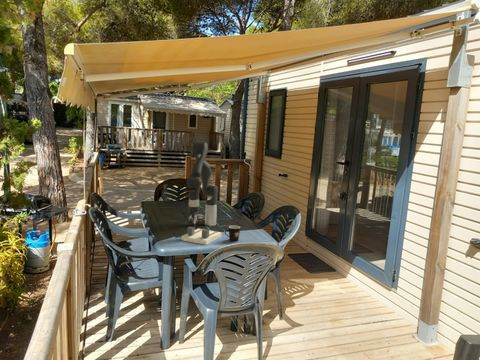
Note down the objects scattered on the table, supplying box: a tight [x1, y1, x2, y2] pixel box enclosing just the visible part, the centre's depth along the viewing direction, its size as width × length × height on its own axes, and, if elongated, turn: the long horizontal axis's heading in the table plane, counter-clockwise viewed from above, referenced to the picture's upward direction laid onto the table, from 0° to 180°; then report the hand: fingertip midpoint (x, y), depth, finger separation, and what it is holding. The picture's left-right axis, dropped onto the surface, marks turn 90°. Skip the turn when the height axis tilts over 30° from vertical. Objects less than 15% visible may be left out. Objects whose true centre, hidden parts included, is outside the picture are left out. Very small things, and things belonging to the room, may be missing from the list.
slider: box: [202, 228, 210, 238], centre depth 270 cm, size 4×4×5 cm
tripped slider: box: [186, 226, 196, 235], centre depth 274 cm, size 4×4×5 cm
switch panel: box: [181, 228, 222, 245], centre depth 278 cm, size 24×20×3 cm
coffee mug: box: [224, 225, 241, 243], centre depth 276 cm, size 12×9×10 cm
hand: (193, 228), depth 277 cm, fingers closed
